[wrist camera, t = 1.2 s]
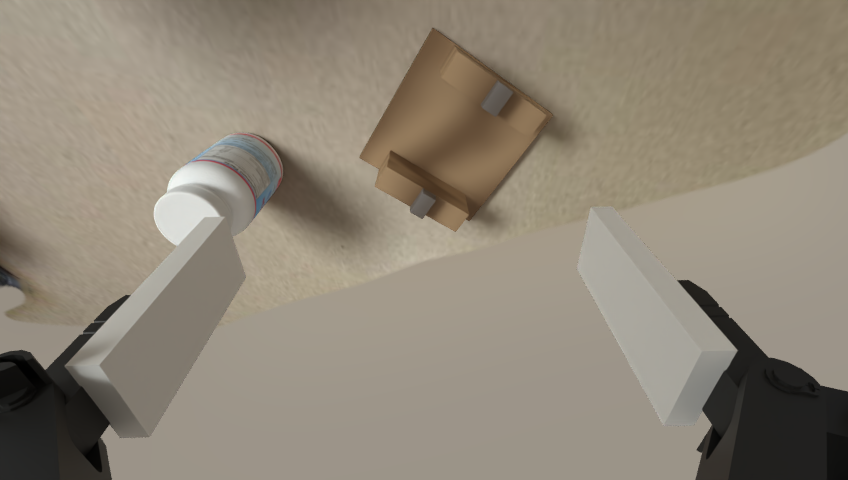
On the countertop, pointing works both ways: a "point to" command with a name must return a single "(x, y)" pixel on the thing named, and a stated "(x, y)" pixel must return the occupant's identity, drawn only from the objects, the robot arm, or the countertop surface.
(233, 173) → the pill bottle
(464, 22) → the countertop surface
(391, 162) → the clip stand
